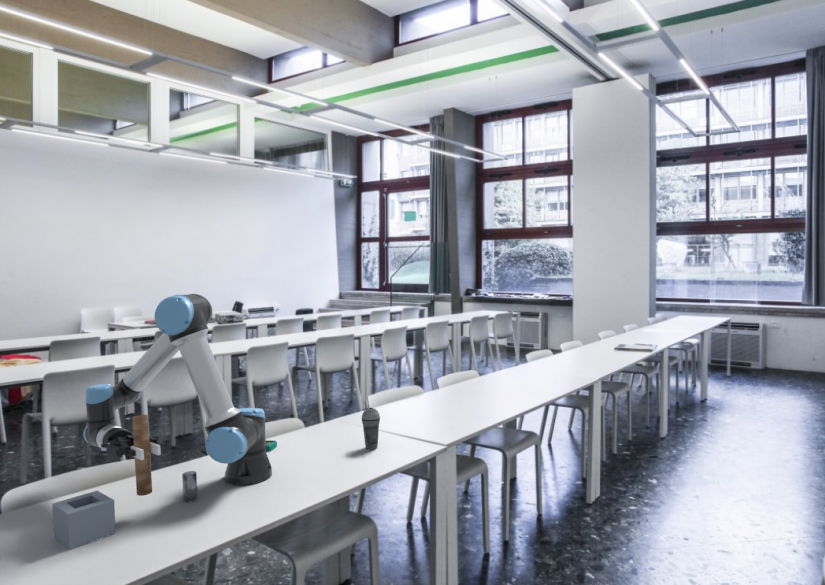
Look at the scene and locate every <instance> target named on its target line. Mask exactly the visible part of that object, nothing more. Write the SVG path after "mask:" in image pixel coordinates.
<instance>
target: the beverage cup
mask: <svg viewBox="0 0 825 585" xmlns="http://www.w3.org/2000/svg"><path fill="white" fill-rule="evenodd" d="M366 402H367V408H365V409H364V410H363V412H362V415H361V423H362V428H363V430H362V431H363V436H364V445H365V450H368V449H369V450H370V451H373V450H377V449H378V446H379V445H378V444H379V429H380V428H379V427H380V420H381V416H380V412H379V411H378V409H376V408H374V407H370V402H369V397H368V396H366Z"/></svg>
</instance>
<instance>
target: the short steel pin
mask: <svg viewBox="0 0 825 585" xmlns="http://www.w3.org/2000/svg"><path fill="white" fill-rule="evenodd" d="M181 475H182V501H183V502H184V501H185V503H191V502H190V501H192V502H195V501H197V500H196V499H198V479H197V471H194V470H188V471H186V472H185V471H184V472H183V473H182V474H181ZM194 500H195V501H194Z"/></svg>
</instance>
